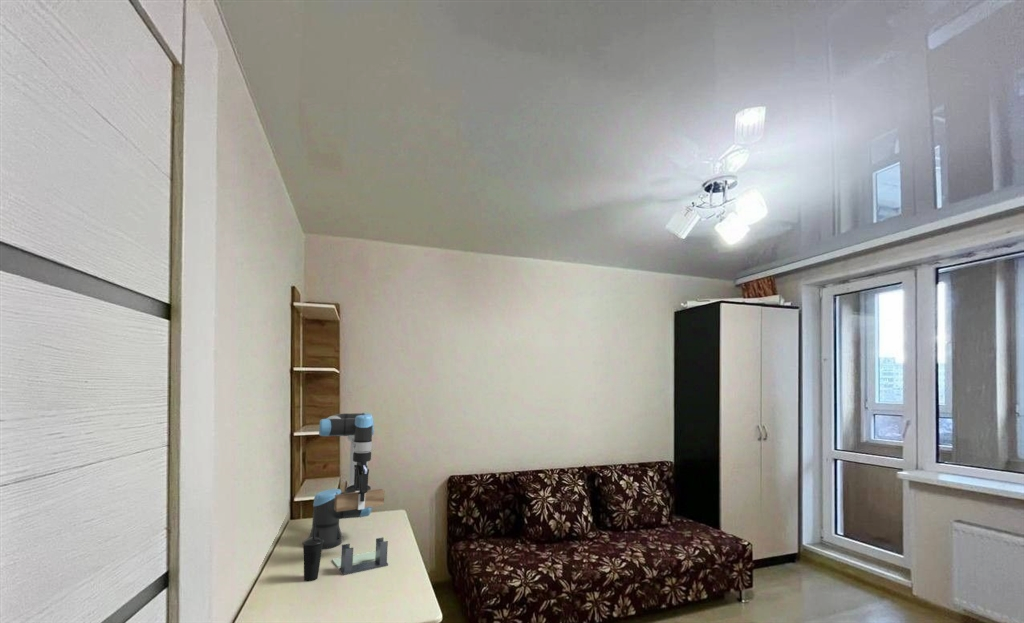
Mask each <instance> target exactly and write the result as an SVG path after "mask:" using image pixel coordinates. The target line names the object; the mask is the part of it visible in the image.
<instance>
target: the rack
mask: <svg viewBox="0 0 1024 623" xmlns="http://www.w3.org/2000/svg"><path fill="white" fill-rule="evenodd" d="M388 545H389V541H388V540H385V541H384V536H382V537H378V538H376V539H375V552H376V556H375V560H373V561H369V562H364V563H359V564H354V565H353V555H354V547H350V546H351V543H345V544H341V555H340V558H341V567H340V568H338V571H339V572H340V573H341V575H342V576H347V575H353V574H356V573H360V572H365V571H369V570H374V569H378V568H383V567H388V566H389V563H388V547H389V546H388Z"/></svg>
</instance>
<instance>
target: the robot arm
mask: <svg viewBox="0 0 1024 623" xmlns="http://www.w3.org/2000/svg"><path fill="white" fill-rule="evenodd" d="M373 417H374V416H373V415H372V413H369V412H367V413H366V412H362V413H361V412H359V413H351V412H350V413H338V414H337V413H336V414H333V415H330V416H328V417H327V418H322V419H320V420H319V426H318V427H319V429H318V435H319V436H320V437H347V440H348V441H349V442H350V449H349V452H350V454H349V475H348V476H349V478H348V486H346V487H345V491H342V490H341V489H340V488H331V489H326V490H323V491H320V492H317V494H315V495H314V498H313V504H312V507H313V511H312V525H311V529H310V532H309V535H308V538H307V539H309V538H311V537H313V524H315V537H319V538H322V539H324V542H323V546H322V550H327V549H331V548H335V547H338V546H339V545H342V543H343V535H342V532H341V528H340V520H344V519H354V518H355V519H357V518H363V517H369V516H370V515H371V513H372V507H367V508H365V493H367V491H368V490H372V489H371V485H370V484H369V473H370V469H369V468H368V465H369V464H368V463H369V462H370V461H371V460H372V452H371V451H372V450H373V449H372V448H373V446H372V444H373V435H374V432H375V428H374V418H373ZM352 492H359V493H358V509H353V510H346V511H339V512H336V511H335V510H334V504H335V495H337V494H345V493H352Z"/></svg>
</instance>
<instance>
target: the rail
mask: <svg viewBox="0 0 1024 623" xmlns="http://www.w3.org/2000/svg"><path fill="white" fill-rule="evenodd" d="M358 493H359V492H352V493H345V494H337V495H335V504H334V510H335V511H336V512H339V511H346V510H353V509H358ZM384 505H385V490H384V489H382V488H377V489H371V490H368V491H367V493H365V508H367V507H378V506H380V507H381V506H384Z"/></svg>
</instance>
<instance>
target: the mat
mask: <svg viewBox="0 0 1024 623" xmlns="http://www.w3.org/2000/svg"><path fill="white" fill-rule="evenodd" d="M375 556H376V550H372V551H368V552H362V553H357V554H353V565H356V564H361V563H366V562H370V561H375ZM331 561H332V563H333V564H334V565H335V567H336V568H337V569H339V568H341V557H336V558H332V560H331Z"/></svg>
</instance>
